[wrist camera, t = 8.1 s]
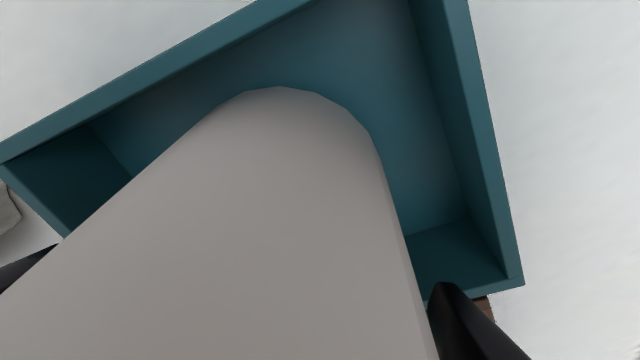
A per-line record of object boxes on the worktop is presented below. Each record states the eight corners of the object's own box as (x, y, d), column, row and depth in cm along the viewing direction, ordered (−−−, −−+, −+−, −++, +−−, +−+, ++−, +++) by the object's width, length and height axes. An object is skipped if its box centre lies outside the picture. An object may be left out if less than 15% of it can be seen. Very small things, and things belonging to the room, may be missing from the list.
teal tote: (477, 214, 14) (526, 285, 11) (226, 292, 17) (198, 367, 14) (404, -65, 9) (446, -105, 6) (77, 112, 13) (-26, 155, 9)
